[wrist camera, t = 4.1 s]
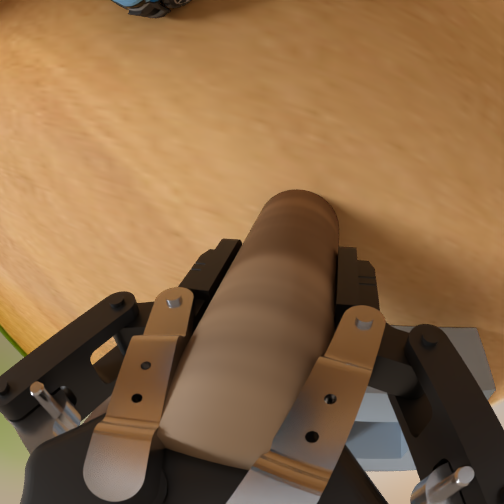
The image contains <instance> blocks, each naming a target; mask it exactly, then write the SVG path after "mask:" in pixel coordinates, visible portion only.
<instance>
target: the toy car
mask: <svg viewBox="0 0 504 504" xmlns="http://www.w3.org/2000/svg"><path fill="white" fill-rule="evenodd" d="M111 1H113V2H114V3H116V4H117V5H119V6H121V7H123V8H125V9H127V10H129V13H128V14H130V15H136V16H142V17H149V18H160V17H164V16H165V15H166V14H168V13H169V12H171V10H169V9H168V8H178V7H181V6H183V5H185V4H187V3H189V2H190V1H191V0H111ZM160 2H161V3H162V4H164V5H165V6H167V7H168V8H166V7H165V6H163V5H162V4H160Z"/></svg>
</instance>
